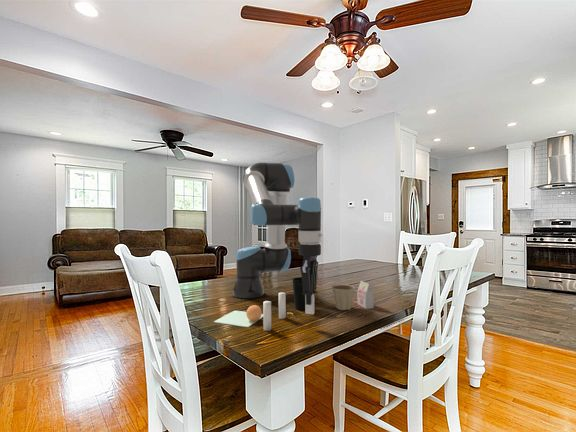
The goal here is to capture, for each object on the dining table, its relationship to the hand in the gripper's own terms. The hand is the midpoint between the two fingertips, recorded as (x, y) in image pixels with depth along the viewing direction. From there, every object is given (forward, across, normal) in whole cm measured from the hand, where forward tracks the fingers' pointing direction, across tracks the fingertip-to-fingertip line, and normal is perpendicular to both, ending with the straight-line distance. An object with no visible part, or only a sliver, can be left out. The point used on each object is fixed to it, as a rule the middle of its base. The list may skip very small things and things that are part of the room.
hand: (309, 313), depth 97 cm
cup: (+5, +20, +10) cm, 22 cm away
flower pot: (+5, +26, -6) cm, 27 cm away
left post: (+5, -7, +13) cm, 15 cm away
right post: (+5, +6, +13) cm, 15 cm away
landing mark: (+5, 0, +27) cm, 27 cm away
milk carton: (+5, +32, -14) cm, 35 cm away
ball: (+2, -1, +21) cm, 21 cm away
